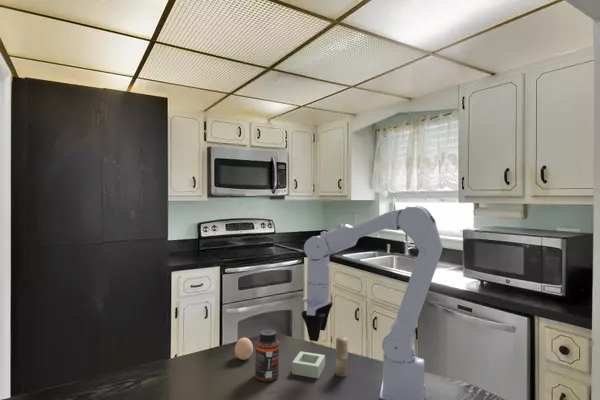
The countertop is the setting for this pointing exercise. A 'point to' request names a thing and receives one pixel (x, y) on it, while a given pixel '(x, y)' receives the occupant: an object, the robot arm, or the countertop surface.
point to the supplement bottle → (267, 356)
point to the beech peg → (341, 356)
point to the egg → (243, 348)
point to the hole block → (308, 364)
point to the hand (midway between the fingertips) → (317, 334)
